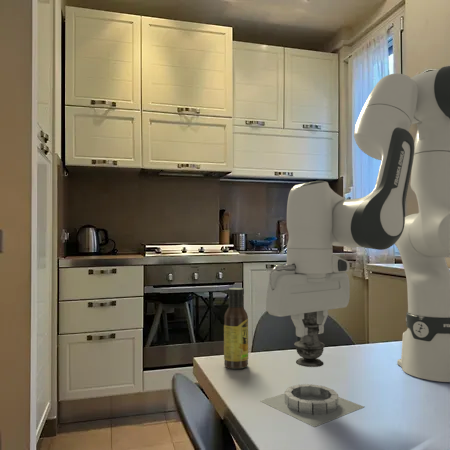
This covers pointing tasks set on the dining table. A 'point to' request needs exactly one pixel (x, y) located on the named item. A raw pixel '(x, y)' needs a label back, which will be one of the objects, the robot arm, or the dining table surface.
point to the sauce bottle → (235, 331)
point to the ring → (311, 406)
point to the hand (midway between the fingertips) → (309, 334)
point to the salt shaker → (310, 343)
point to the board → (312, 420)
